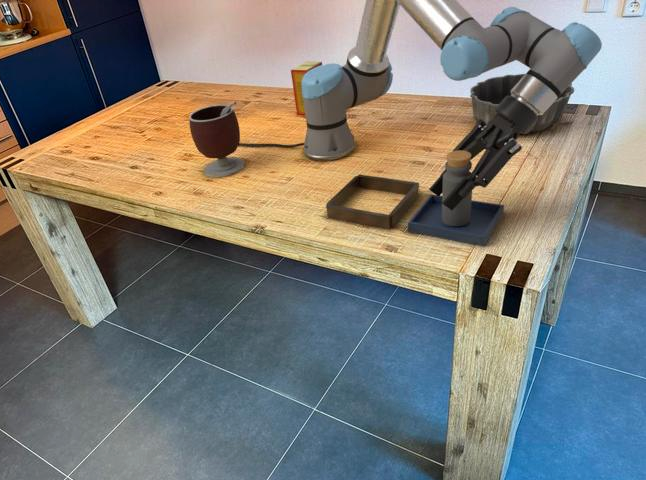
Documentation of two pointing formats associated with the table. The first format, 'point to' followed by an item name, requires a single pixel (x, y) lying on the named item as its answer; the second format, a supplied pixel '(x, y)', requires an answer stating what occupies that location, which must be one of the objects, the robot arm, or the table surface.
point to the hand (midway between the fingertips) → (440, 199)
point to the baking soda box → (297, 83)
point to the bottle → (456, 172)
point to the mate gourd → (217, 138)
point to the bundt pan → (498, 88)
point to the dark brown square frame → (369, 217)
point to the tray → (473, 232)
